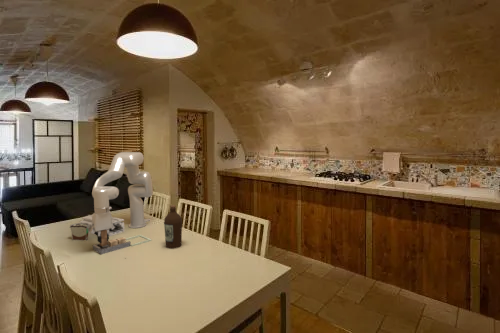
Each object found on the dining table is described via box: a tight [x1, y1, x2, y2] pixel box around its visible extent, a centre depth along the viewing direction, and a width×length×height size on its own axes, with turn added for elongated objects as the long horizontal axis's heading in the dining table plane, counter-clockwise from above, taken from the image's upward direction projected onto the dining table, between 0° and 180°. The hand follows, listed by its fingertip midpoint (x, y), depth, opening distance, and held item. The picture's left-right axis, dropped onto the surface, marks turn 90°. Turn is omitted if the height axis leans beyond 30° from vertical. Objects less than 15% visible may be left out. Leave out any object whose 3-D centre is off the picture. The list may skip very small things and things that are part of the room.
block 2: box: [115, 236, 127, 244], centre depth 171 cm, size 4×4×4 cm
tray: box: [125, 234, 153, 247], centre depth 178 cm, size 13×14×2 cm
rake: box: [97, 230, 109, 249], centre depth 162 cm, size 3×8×12 cm, turn 49°
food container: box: [69, 222, 89, 241], centre depth 185 cm, size 12×6×10 cm, turn 84°
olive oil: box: [163, 204, 183, 249], centre depth 172 cm, size 11×11×25 cm
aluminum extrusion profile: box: [79, 213, 125, 237], centre depth 201 cm, size 14×31×10 cm, turn 61°
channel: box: [92, 238, 132, 255], centre depth 167 cm, size 17×11×4 cm
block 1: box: [108, 238, 118, 247], centre depth 167 cm, size 4×4×4 cm
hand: (103, 241), depth 163 cm, fingers closed on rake, 3 cm apart
